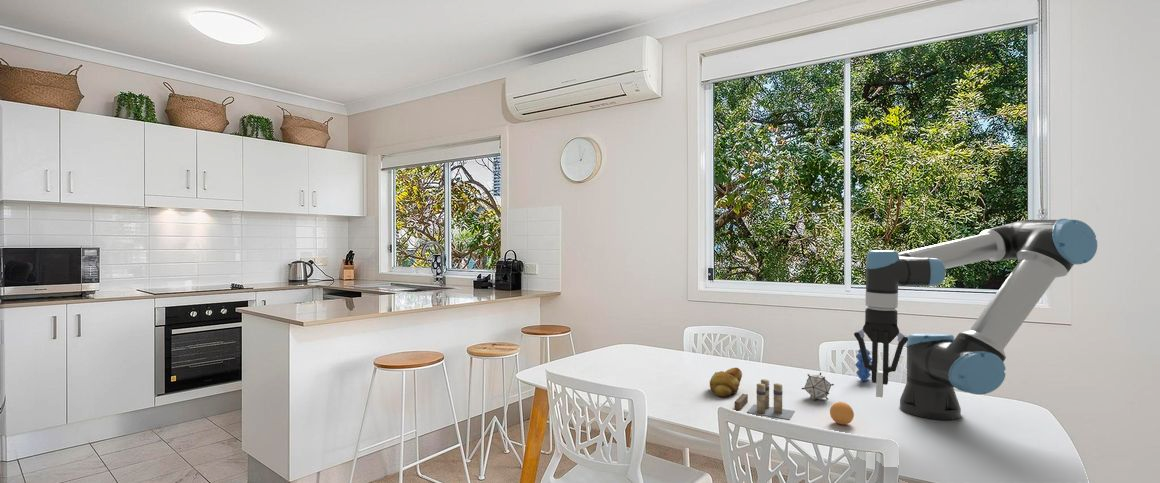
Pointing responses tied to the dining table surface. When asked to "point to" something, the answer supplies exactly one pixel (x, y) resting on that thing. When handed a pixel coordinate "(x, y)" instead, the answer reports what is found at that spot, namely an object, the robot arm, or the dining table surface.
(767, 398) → the pin
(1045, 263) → the robot arm
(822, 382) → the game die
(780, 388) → the front pin
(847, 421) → the ball
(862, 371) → the grapes
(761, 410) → the pin
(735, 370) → the bread roll
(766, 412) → the pin deck
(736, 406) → the backstop
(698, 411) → the dining table surface
